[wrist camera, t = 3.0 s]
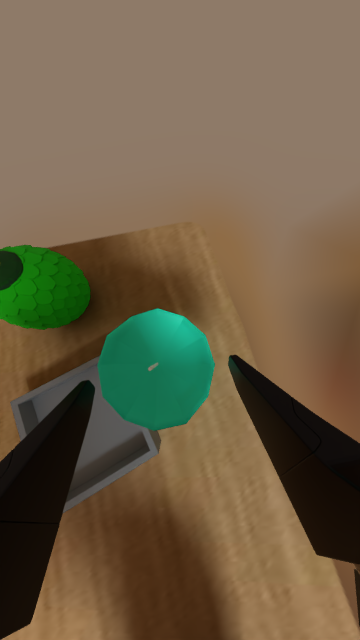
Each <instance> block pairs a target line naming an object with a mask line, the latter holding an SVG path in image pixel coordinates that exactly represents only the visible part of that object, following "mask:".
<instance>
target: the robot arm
mask: <svg viewBox="0 0 360 640" xmlns="http://www.w3.org/2000/svg"><path fill="white" fill-rule="evenodd" d="M228 366H229V369H230V372H231V375H232V377H233V380H234V383H235V386H236V388H237V391H238V393H239V395H240V397H241V399H242V401H243V403H244V405H245V408H246V410H247V412H248V414H249V416H250V418H251V420H252V422H253V424H254V426H255V428H256V430H257V432H258V435H259V437H260V439H261V441H262V443H263V445H264V447H265V449H266V451H267V453H268V455H269V457H270V459H271V462H272V464H273V466H274V468H275V470H276V472H277V474H278V476H279V478H280V480H281V482H282V485H283V487H284V489H285V491H286V493H287V495H288V497H289V499H290V501H291V503H292V505H293V507H294V509H295V512H296V514H297V516H298V518H299V520H300V522H301V524H302V526H303V528H304V530H305V532H306V534H307V536H308V539H309V541H310V543H311V545H312V547H313V549H314V551H315V553H316V554H317V555H319V556H323V557H328V558H332V559H336V560H341V561H345V562H349V563H353V564H354V565H355V567H356V569H355V570H354V573H355V584H356V595H357V605H358V617H359V626H360V443H358V442H357V441H355V440H354V439H352V438H351V437H349V436H348V435H346V434H344V433H343V432H342V431H340V430H339V429H337V428H335V427H334V426H332V425H331V424H330V423H328V422H326V421H325V420H323V419H322V418H320V417H319V416H318V415H316V414H315V413H313V412H312V411H310V410H309V409H308V408H306V407H305V406H303V405H302V404H301V403H299V402H298V401H297V400H295V399H294V398H293V397H291V396H290V395H289V394H287V393H286V392H285V391H283V390H282V389H281V388H279V387H278V386H277V385H275V384H274V383H272V382H271V381H270V380H269V379H268V378H266V377H265V376H264V375H262V374H261V373H260V372H258V371H257V370H256V369H254V368H253V367H252V366H250V365H249V364H248V363H246V362H245V361H244V360H242V359H241V358H240V357H238V356H237V355H230V356H229V362H228ZM94 395H95V386H94V385H93V384H92V383H91V381H90V380H83V381H81V382H80V383H79V384H78V385H77V386H76V387H75V388H74V389H73V390H72V391H71V392H70V393H69V394H68V395H67V396H66V397H65V398H64V399H63V400H62V401H61V402H60V403H59V404H58V405H57V406H56V407H55V408H54V409H53V410H52V411H51V412H50V413H49V414H48V415H47V416H46V417H45V418H44V419H43V420H42V421H41V422H40V423H39V424H38V425H37V426H36V427H35V428H34V429H33V430H32V431H31V432H30V433H29V434H28V435H27V436H26V437H25V438H24V439H23V440H22V441H21V442H20V443H19V444H18V445H17V446H16V447H15V448H14V449H13V450H12V451H11V452H10V453H9V454H8V455H7V456H6V457H5V458H4V459H3V460H2V461H1V462H0V640H1V639H3V638H5V637H6V636H8V635H10V634H12V633H14V632H16V631H18V630H20V629H21V628H23V627H25V626H27V625H29V624H30V623H31V620H32V618H33V615H34V611H35V608H36V604H37V601H38V597H39V594H40V591H41V587H42V584H43V580H44V577H45V573H46V570H47V566H48V563H49V559H50V556H51V552H52V549H53V545H54V542H55V538H56V535H57V531H58V528H59V523H60V521H61V517H62V514H63V510H64V507H65V503H66V500H67V496H68V493H69V489H70V486H71V482H72V479H73V475H74V472H75V468H76V465H77V461H78V458H79V454H80V451H81V447H82V444H83V441H84V437H85V434H86V430H87V427H88V423H89V420H90V416H91V411H92V405H93V400H94Z"/></svg>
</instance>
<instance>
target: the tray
mask: <svg viewBox="0 0 360 640" xmlns="http://www.w3.org/2000/svg"><path fill="white" fill-rule="evenodd" d="M99 358H100V356H98V357H96V358H94V359H92V360H90V361H88V362H86V363H84V364H82V365H80V366H79V367H77V368H75V369H73V370H71V371H69V372H67V373H65V374H63V375H61V376H59V377H57V378H55V379H54V380H52V381H50V382H48V383H46V384H44V385H42V386H40V387H38V388H36V389H34V390H32V391H30V392H28V393H27V394H25V395H23V396H21V397H19V398H17V399H15V400H13V401H11V402H10V403H11V407H12V411H13V414H14V418H15V422H16V425H17V429H18V432H19V436H20V440H21V441H22V440H23V439H24V438H25V437H26V436H27V435H28V434H29V433H30V432H31V431H32V430H33V429H34V428H35V427H36V426H37V425H38V424H39V423H40V422H41V421H42V420H43V419H44V418H45V417H46V416H47V415H48V414H49V413H50V412H51V411H52V410H53V409H54V408H55V407H56V406H57V405H58V404H59V403H60V402H61V401H62V400H63V399H64V398H65V397H66V396H67V395H68V394H69V393H70V392H71V391H72V390H73V389H74V388H75V387H76V386H77V385H78V384H79V383H80V382H81V381H83V380H90V381H91V383H92V384H93V385H94V386H95V395H94V400H93V405H92V411H91V416H90V420H89V423H88V427H87V430H86V434H85V437H84V441H83V444H82V447H81V451H80V454H79V458H78V461H77V465H76V468H75V472H74V475H73V479H72V482H71V486H70V489H69V493H68V496H67V500H66V503H65V507H64V510H63V513H64V512H66V511H68V510H69V509H71V508H72V507H74V506H76V505H77V504H79V503H80V502H82V501H83V500H85V499H87V498H88V497H90V496H91V495H93V494H95V493H96V492H98V491H99V490H101V489H103V488H104V487H106V486H107V485H109V484H111V483H112V482H114V481H115V480H117V479H119V478H120V477H122V476H123V475H125V474H127V473H128V472H130V471H131V470H133V469H135V468H136V467H138V466H139V465H141V464H143V463H144V462H146V461H147V460H149V459H151V458H152V457H154V456H155V455H157V454H159V449H160V444H161V439H160V437H159V435H158V432H157V430H156V431H153V430H150V429H148V428H145V427H142V426H139V425H136V424H134V423H131V422H128V421H125V420H124V419H123V418H122V417H121V416H120V415H119V414H118V413H117V412H116V411H115V410H114V409H113V407H112V406H111V405H110V404H109V403H108V402H107V401H106V400H105V399H104V398H103V397H102V391H101V385H100V379H99V373H98V367H97V364H98V361H99Z"/></svg>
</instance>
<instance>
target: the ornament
mask: <svg viewBox="0 0 360 640" xmlns="http://www.w3.org/2000/svg"><path fill="white" fill-rule="evenodd" d="M89 300H90V287H89V283H88V281H87V279H86V278H85V277H84V275H83V272H82V270H81V269H79V268H78V267H77V266H76V265H75V264H74V263H73V262H72V261H71V260H69V259H67V258H66V257H65V256H63V255H61V254H59V253H57V252H53V251H50V249H47V248H40V247H32V246H31V245H22V246H16V247H10V246H9V247H5V248H3V249H0V319H4V320H5V321H7V322H8V323H10V324H13V325H14V324H15V325H17V326H21V327H24V328H27V329H28V328H33V329H34V328H36V329H42V330H45V329H47V328H59V327H61V326H63V325H67V324H70V322H71V321H74V320H76V319H78V318H79V316H80V315H82V314H83V313H84V311H85V309H86V307H87V306H88V305H89Z"/></svg>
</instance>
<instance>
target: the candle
mask: <svg viewBox="0 0 360 640" xmlns="http://www.w3.org/2000/svg"><path fill="white" fill-rule="evenodd" d="M97 367H98V373H99V379H100V385H101V391H102V397H103V398H104V399H105V400H106V401H107V402H108V403H109V404H110V405H111V406H112V407H113V409H114V410H115V411H116V412H117V413H118V414H119V415H120V416H121V417H122V418H123V419H124V420H125V421H128V422H131V423H134V424H136V425H139V426H142V427H145V428H148V429H150V430H153V431H156V430H160V429H165V428H169V427H174V426H178V425H183V424H186V423H187V422H188V421H189V420H190V418H191V417H192V416H193V415H194V413H195V412H196V411H197V410H198V408H199V407H200V406H201V405H202V403H203V402H204V401H205V400H206V398H207V397H208V395H209V390H210V385H211V381H212V376H213V371H214V367H215V363H214V360H213V357H212V354H211V351H210V348H209V345H208V341H207V338H206V335H205V334H204V333H202V332H201V331H200V330H199V329H198V328H197V327H196V326H194V325H193V324H192V323H191V322H190V321H189V320H188V319H187V318H185V317H184V316H181V315H178V314H174V313H171V312H168V311H165V310H162V309H158V308H157V309H154V310H150V311H147V312H144V313H141V314H138V315H134V316H131V317H130V318H129V319H127V320H126V321H125V322H124V323H122V324H121V325H120V326H118V327H117V328H116V329H115V330H113V331H112V332H111V333H110V334H108V335H107V337H106V340H105V343H104V346H103V349H102V352H101V355H100V358H99V361H98V364H97Z"/></svg>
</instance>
